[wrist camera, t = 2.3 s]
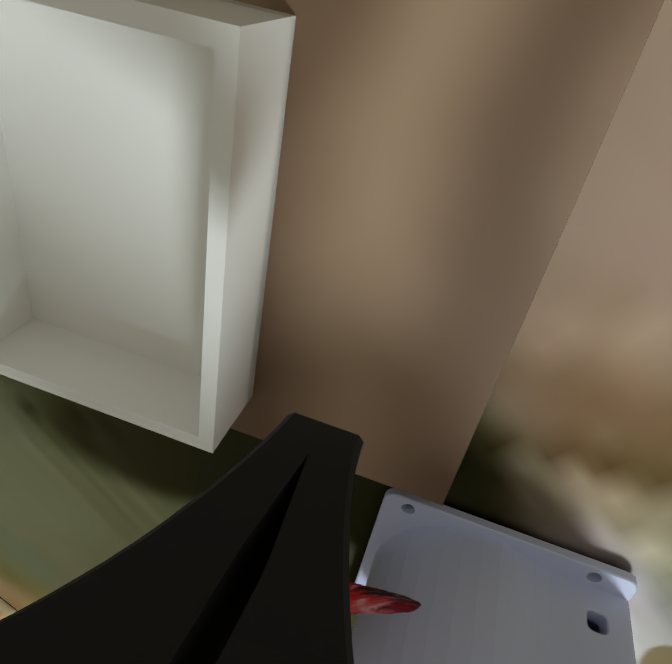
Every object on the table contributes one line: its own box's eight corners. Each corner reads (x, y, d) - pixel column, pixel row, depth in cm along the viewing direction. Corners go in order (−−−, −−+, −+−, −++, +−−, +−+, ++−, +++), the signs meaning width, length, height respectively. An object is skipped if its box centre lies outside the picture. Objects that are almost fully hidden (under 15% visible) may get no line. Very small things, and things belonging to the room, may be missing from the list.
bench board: (661, -16, 12) (712, -6, 8) (447, 480, 21) (425, 592, 17) (-351, -227, 16) (-624, -286, 12) (-164, 262, 25) (-288, 314, 22)
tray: (296, 16, 13) (240, 26, 11) (252, 395, 20) (212, 453, 18) (-30, -64, 15) (-144, -68, 12) (33, 317, 22) (-31, 362, 19)
